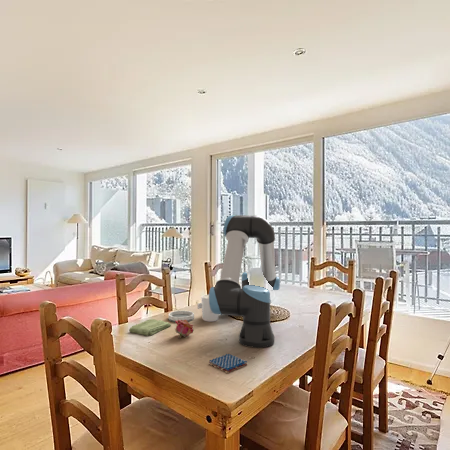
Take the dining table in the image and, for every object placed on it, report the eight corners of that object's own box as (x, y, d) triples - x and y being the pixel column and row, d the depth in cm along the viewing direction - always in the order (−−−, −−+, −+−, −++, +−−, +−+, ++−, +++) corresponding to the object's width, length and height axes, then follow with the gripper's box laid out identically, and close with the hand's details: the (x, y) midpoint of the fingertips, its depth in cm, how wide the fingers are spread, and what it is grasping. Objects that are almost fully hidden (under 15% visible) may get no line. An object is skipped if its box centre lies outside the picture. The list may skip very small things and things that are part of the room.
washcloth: (172, 326, 163) (172, 320, 163) (149, 337, 147) (149, 330, 147) (151, 323, 169) (151, 316, 169) (126, 333, 153) (126, 326, 153)
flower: (185, 338, 140) (192, 321, 144) (166, 332, 143) (174, 314, 147) (191, 344, 148) (198, 327, 152) (173, 338, 151) (180, 321, 155)
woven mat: (228, 357, 126) (228, 352, 126) (248, 366, 118) (248, 360, 118) (207, 365, 119) (207, 359, 119) (227, 375, 111) (227, 369, 111)
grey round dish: (187, 323, 167) (187, 318, 167) (164, 321, 171) (164, 316, 171) (197, 316, 180) (197, 311, 180) (175, 314, 184) (175, 309, 184)
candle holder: (217, 322, 169) (217, 299, 169) (198, 321, 171) (199, 298, 171) (221, 317, 179) (221, 295, 179) (203, 316, 181) (204, 294, 181)
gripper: (250, 312, 178) (218, 320, 163) (222, 304, 195) (191, 310, 181) (250, 298, 178) (218, 305, 163) (222, 291, 195) (191, 297, 181)
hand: (204, 308), depth 172 cm, fingers open, 10 cm apart
